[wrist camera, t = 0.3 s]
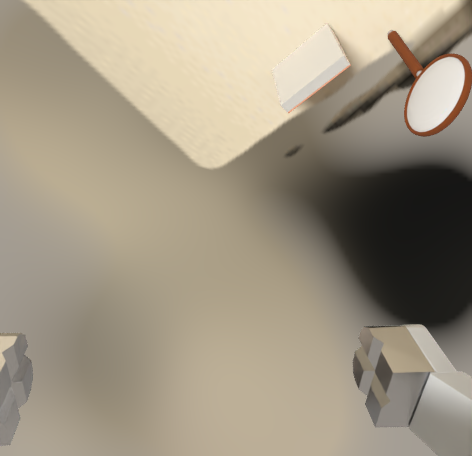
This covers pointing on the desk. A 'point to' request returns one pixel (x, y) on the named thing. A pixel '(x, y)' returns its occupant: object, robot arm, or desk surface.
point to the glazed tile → (309, 68)
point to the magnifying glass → (434, 89)
